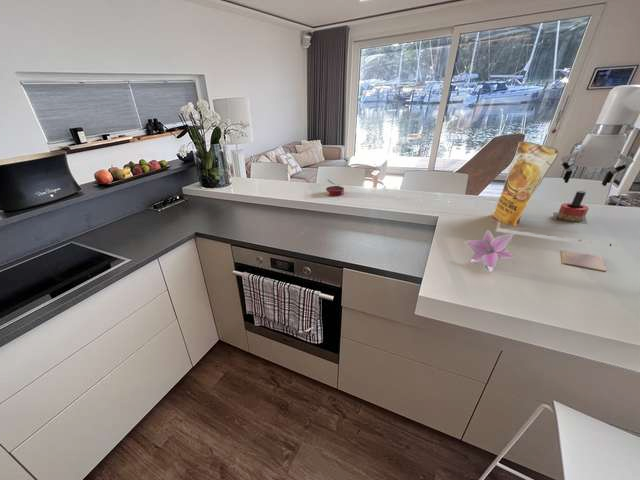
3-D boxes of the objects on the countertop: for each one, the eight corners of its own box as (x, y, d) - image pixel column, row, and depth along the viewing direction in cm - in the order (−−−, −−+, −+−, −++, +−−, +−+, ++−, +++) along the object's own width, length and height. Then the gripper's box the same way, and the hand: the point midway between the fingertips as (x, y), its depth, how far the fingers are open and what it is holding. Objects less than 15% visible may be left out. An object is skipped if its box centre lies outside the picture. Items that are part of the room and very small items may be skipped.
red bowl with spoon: (328, 199, 166) (329, 182, 166) (345, 198, 162) (346, 180, 162) (322, 196, 156) (323, 177, 156) (341, 194, 152) (341, 176, 151)
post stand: (583, 218, 108) (597, 189, 102) (586, 227, 102) (600, 196, 96) (552, 215, 113) (563, 187, 107) (552, 222, 107) (565, 194, 101)
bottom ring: (582, 216, 107) (584, 210, 106) (583, 222, 102) (586, 217, 101) (556, 213, 111) (558, 208, 110) (557, 219, 106) (559, 214, 105)
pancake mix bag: (505, 212, 119) (529, 139, 105) (531, 231, 103) (563, 148, 89) (487, 212, 120) (508, 141, 106) (509, 231, 104) (538, 149, 90)
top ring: (584, 210, 106) (587, 204, 105) (586, 217, 101) (589, 210, 100) (558, 208, 110) (561, 202, 109) (559, 214, 105) (562, 207, 104)
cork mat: (601, 257, 85) (602, 256, 84) (605, 271, 79) (606, 270, 79) (560, 251, 90) (561, 250, 89) (562, 263, 84) (562, 262, 84)
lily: (458, 255, 95) (458, 237, 88) (495, 240, 92) (499, 220, 85) (480, 283, 87) (482, 265, 80) (522, 267, 84) (528, 248, 77)
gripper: (646, 128, 89) (617, 183, 98) (571, 128, 99) (551, 178, 108) (652, 131, 85) (621, 189, 93) (573, 131, 94) (552, 183, 103)
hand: (584, 183), depth 101 cm, fingers open, 9 cm apart
